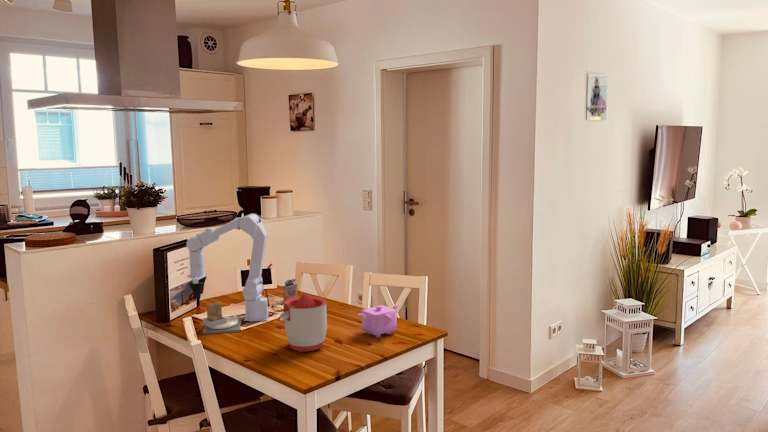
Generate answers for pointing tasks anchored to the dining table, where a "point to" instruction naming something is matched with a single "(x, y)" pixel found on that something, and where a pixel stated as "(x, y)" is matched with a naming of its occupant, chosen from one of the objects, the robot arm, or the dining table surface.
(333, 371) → the dining table surface
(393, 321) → the teapot
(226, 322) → the dial
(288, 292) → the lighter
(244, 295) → the robot arm
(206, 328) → the dial plate
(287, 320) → the citrus juicer
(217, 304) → the driver peg
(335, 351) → the dining table surface
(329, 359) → the dining table surface
